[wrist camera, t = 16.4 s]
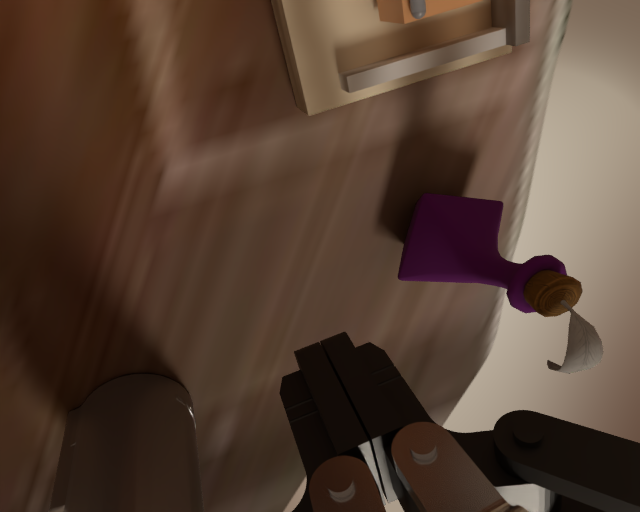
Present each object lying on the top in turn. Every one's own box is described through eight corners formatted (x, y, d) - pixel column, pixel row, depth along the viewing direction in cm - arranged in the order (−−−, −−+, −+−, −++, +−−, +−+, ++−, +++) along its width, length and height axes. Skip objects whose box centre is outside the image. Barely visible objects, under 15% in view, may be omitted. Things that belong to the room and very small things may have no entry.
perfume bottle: (404, 179, 39) (565, 295, 24) (480, 188, 42) (669, 298, 27) (381, 261, 42) (510, 411, 27) (453, 265, 45) (608, 403, 30)
